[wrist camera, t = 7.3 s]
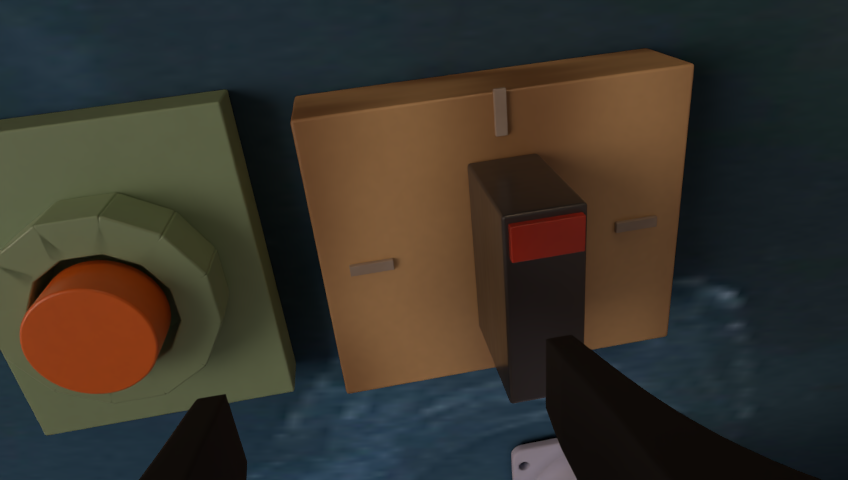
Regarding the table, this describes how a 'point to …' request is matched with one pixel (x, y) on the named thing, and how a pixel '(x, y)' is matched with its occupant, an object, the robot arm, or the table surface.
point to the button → (96, 327)
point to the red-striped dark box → (526, 265)
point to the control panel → (450, 200)
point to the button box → (144, 248)
